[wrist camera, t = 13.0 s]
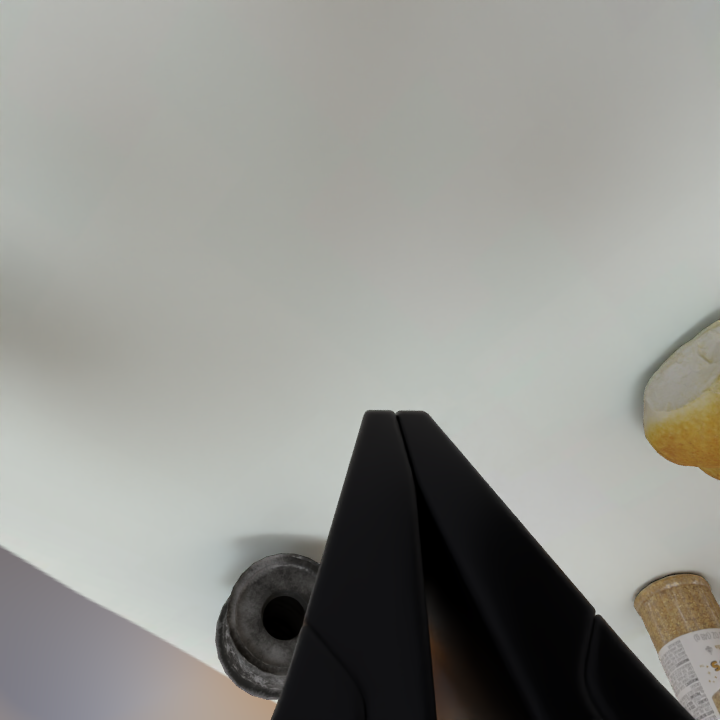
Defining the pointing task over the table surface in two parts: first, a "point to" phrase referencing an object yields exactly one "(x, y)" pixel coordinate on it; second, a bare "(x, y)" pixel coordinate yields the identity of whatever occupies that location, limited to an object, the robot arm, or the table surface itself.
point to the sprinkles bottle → (686, 639)
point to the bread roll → (687, 404)
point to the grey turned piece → (265, 622)
